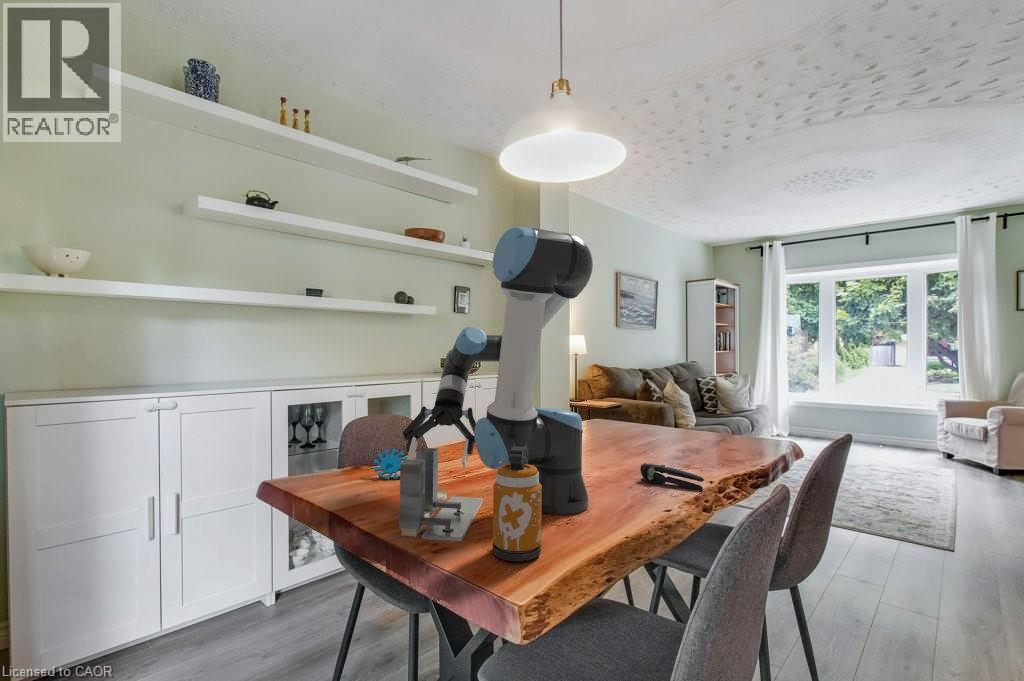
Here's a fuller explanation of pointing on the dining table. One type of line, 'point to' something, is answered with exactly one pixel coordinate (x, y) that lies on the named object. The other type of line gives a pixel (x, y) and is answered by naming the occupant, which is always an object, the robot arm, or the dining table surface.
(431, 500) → the slide leg
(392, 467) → the blue spiky virus model
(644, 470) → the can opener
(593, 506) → the dining table surface
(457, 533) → the bolt plate
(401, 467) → the grey metal fixture
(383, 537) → the dining table surface
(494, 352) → the robot arm
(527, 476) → the canister
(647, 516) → the dining table surface
